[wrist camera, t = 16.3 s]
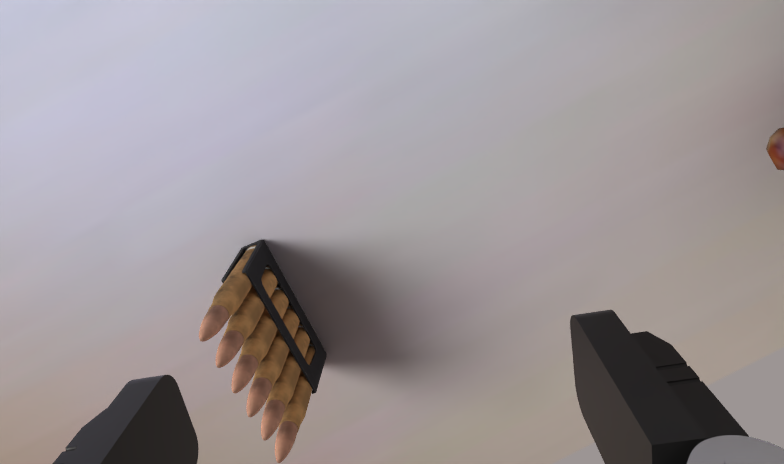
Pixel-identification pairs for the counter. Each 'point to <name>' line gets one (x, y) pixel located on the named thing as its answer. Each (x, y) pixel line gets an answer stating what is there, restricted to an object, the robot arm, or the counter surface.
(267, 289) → the ammunition clip
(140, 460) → the robot arm
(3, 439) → the counter surface
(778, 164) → the meat
